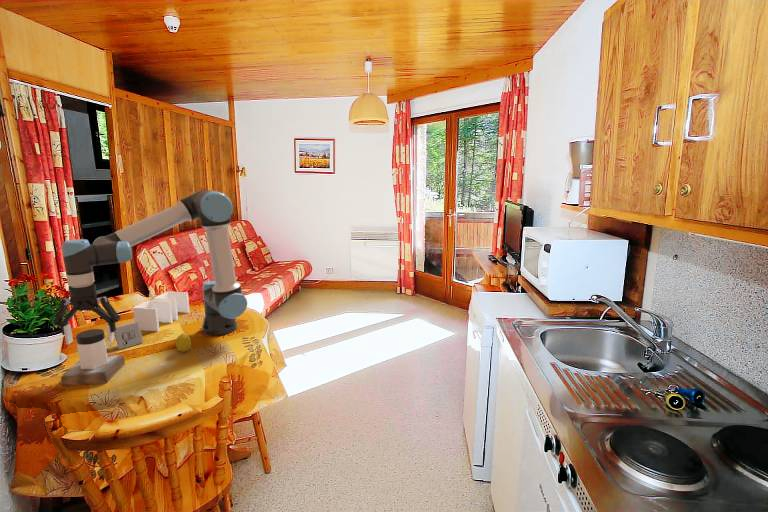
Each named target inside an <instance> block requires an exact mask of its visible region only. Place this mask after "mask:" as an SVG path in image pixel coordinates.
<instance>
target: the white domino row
mask: <svg viewBox="0 0 768 512" xmlns="http://www.w3.org/2000/svg"><path fill="white" fill-rule="evenodd" d="M189 299H190V298H189V292H185V291H183V292H181V291H170V290H169V291H166V292H163V293H162V294H160V295H157V296H155V297H153V299H149V300H147V301H145V302H142V303H140V304H138V305H136V306H134V307H132V309H133V310H132V311H133V319H134V322H138V323H139V326H140V330H141V331H144V332H145V331H147V332H149V331H150V332H159V331H160V323H169V324H173V323H174V322H173V321H178V320H179V317H178V316H179V314H178V313H186V314H190V301H189Z"/></svg>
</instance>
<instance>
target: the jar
mask: <svg viewBox="0 0 768 512" xmlns="http://www.w3.org/2000/svg"><path fill="white" fill-rule="evenodd" d="M75 340H76V343H77V344H76V346H77V347H76V348H77V353H78V359H79V360H78V361H80V367H81V369H96V368H98V367H101V366H104V365H106V364H108V356H109V355H108V351H107V344H106V335H105V331H104V329H101V328H91V329H88V330H86V329H85V330H84V331H83V330H82V331H81V332H78V333H77V334H76V335H75Z"/></svg>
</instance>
